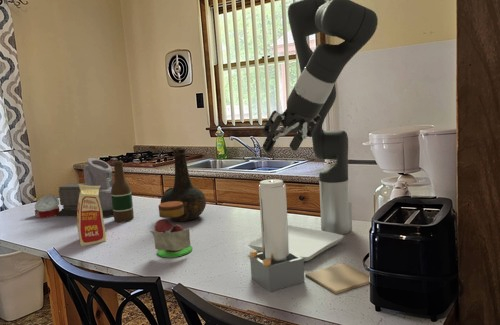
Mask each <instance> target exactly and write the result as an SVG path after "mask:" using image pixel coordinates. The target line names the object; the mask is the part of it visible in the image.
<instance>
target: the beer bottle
mask: <svg viewBox="0 0 500 325" xmlns="http://www.w3.org/2000/svg"><path fill="white" fill-rule="evenodd" d="M112 165H113V166H114V167H113V169H114V180H113V186H112V189H111V197H112V206H113V215H114V217H113V218H114V219H113V220H114V222H115V223H126V222H131V221H133V219H134V217H135V216H134V214H135V212H134V207H133V206H134V205H133V195H132V194H133V192H132V188H131V186H130V185H131V184H129V183H128V182H127V179H126V177H125V173H124V172H125V171H124V170H125V169H124V162H123V160H115V161H113V164H112Z"/></svg>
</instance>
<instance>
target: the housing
mask: <svg viewBox="0 0 500 325" xmlns="http://www.w3.org/2000/svg"><path fill="white" fill-rule="evenodd" d="M249 253H250V254H249V257H250V259H249V261H250V273H251V274H250V275H251V276H250V278H251V279H252V280H254V281H255V282H256V283H258V284H259V285H260V286H262V287H263V288H264V289H265V290H267V291H268V292H270V293H271V292H274V291H277V290H281V289H285V288H288V287H293V286H294V285H298V284H299V285H300V284H302V283H304V282H305V266H304V265H305V263H304V262H305V261H304V260H303V258H302V257H300V256H298V255H296V254H295V253H293V252H291V251H289V261H285V262H281V263H278V264H274V265H271V259H264V260H263V252H258V251H257V250H254V249H253V250H250V252H249Z"/></svg>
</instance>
